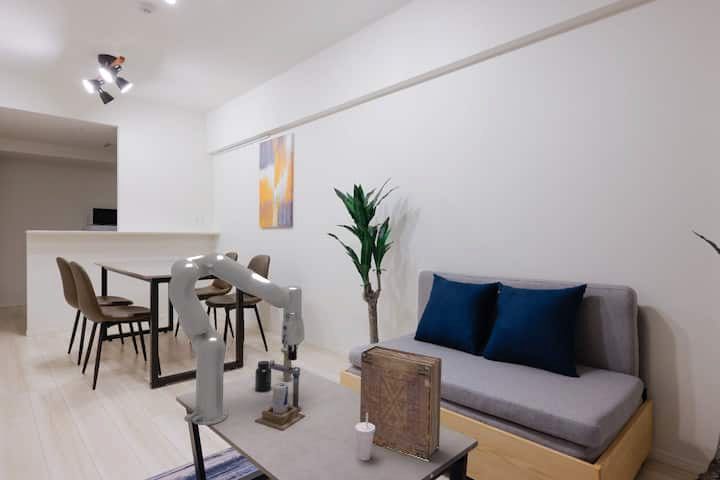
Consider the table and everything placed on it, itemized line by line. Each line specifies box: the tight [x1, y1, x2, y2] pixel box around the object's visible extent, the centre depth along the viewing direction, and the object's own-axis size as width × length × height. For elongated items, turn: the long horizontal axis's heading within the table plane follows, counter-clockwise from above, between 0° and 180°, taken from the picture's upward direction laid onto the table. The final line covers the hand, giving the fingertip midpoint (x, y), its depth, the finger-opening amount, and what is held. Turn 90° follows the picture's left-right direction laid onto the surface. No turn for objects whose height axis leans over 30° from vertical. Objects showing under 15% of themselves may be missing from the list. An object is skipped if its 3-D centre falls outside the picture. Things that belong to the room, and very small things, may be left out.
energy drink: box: [272, 382, 289, 415], centre depth 152 cm, size 5×5×12 cm
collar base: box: [254, 375, 306, 432], centre depth 154 cm, size 18×13×14 cm
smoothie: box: [354, 413, 375, 461], centre depth 128 cm, size 6×6×14 cm
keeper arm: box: [268, 359, 301, 377], centre depth 163 cm, size 15×3×3 cm, turn 61°
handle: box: [280, 347, 293, 382], centre depth 191 cm, size 5×6×15 cm
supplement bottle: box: [254, 360, 272, 393], centre depth 180 cm, size 7×7×12 cm
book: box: [359, 345, 443, 460], centre depth 136 cm, size 25×9×30 cm, turn 58°
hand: (292, 359), depth 170 cm, fingers closed
